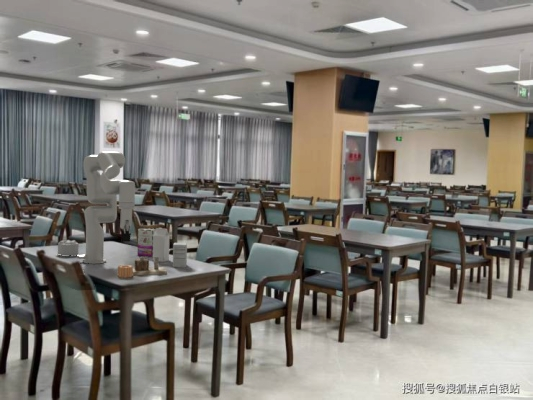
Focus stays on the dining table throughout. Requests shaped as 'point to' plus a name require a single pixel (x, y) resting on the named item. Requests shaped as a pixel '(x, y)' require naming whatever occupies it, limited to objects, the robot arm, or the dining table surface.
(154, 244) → the milk carton
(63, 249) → the lumpy-topped squat cylinder
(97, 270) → the dining table surface
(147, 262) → the gear board
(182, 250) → the supplement box
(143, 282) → the dining table surface
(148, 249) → the candy bar box
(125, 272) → the orange gear
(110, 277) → the dining table surface
